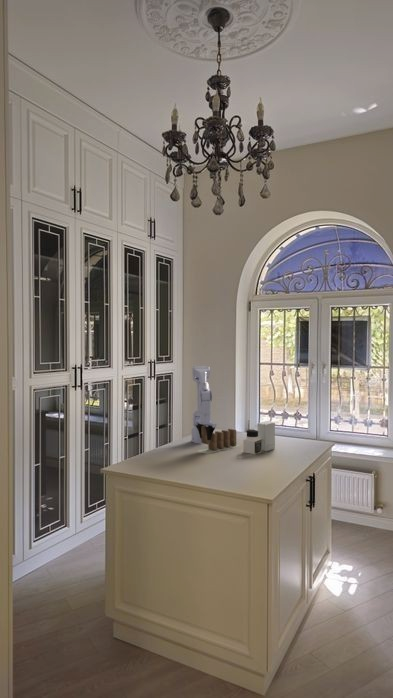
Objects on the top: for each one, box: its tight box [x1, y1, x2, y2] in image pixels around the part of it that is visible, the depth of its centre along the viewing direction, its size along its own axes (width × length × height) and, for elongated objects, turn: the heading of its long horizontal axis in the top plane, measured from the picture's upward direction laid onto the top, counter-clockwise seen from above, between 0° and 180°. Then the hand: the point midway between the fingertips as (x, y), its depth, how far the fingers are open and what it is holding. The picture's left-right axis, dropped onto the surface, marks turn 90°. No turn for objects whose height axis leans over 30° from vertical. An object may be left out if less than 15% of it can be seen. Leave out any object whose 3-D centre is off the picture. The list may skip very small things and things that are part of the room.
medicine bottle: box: [242, 428, 262, 456], centre depth 243 cm, size 7×7×12 cm
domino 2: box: [214, 430, 224, 449], centre depth 250 cm, size 5×2×9 cm, turn 41°
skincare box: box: [257, 420, 276, 452], centre depth 248 cm, size 8×6×15 cm
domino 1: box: [207, 432, 218, 452], centre depth 247 cm, size 5×2×9 cm, turn 41°
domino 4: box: [227, 428, 237, 446], centre depth 257 cm, size 5×2×9 cm, turn 41°
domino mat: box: [197, 444, 241, 455], centre depth 250 cm, size 8×26×1 cm, turn 131°
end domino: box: [201, 426, 210, 446], centre depth 244 cm, size 5×2×9 cm, turn 41°
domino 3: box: [221, 429, 231, 449], centre depth 254 cm, size 5×2×9 cm, turn 41°
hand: (205, 438), depth 244 cm, fingers closed on end domino, 5 cm apart
